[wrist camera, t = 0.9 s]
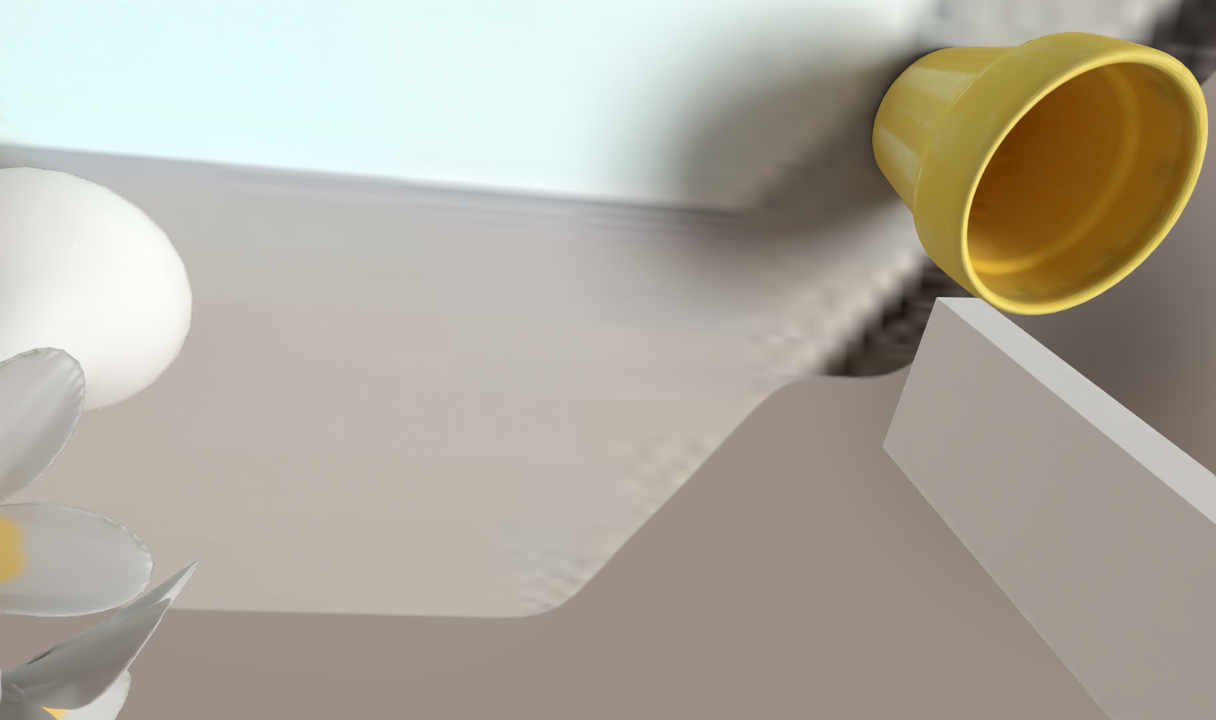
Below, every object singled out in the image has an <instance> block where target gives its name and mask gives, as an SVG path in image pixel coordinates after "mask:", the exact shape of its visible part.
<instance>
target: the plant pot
mask: <svg viewBox="0 0 1216 720" xmlns="http://www.w3.org/2000/svg"><path fill="white" fill-rule="evenodd" d="M1207 137H1208V118H1207V109H1206V103H1205V99H1204V96H1203V94H1202V91H1201V88H1200V86H1199V84H1198V82H1197V81H1196V79H1195V77H1194V76H1193V75H1192V73H1191V72H1190V71H1189V70H1188V69H1187V68H1186V67H1185V66H1184V65H1183V64H1182V63H1181V62H1180V61H1178V60H1177V59H1175V58H1174V57H1172V56H1170V55H1168V54H1166V53H1164V52H1162V51H1159V50H1157V49H1154V48H1150V47H1147V46H1143V45H1140V44H1136V43H1132V42H1128V41H1124V40H1121V39H1117V38H1112V37H1107V36H1102V35H1096V34H1090V33H1081V32H1065V33H1056V34H1051V35H1047V36H1043V37H1040V38H1037V39H1034V40H1031V41H1028V42H1026V43H1024V44H1021V45H1019V46H999V47H950V48H945V49H940V50H937V51H935V52H932V53H930V54H928V55H926V56H924V57H922V58H920V59H919V60H917V61H916V62H914V63H913V64H912V65H910V66H909V67H908V68H907V69H906V70H905V71H903V72H902V73H901V75H900V76H899V77H898V78H897V79H896V80H895V81H894V82H893V84H892V85H891V87H890V88H889V89H888V91H887V93H886V94H885V96H884V98H883V100H882V102H881V104H880V106H879V109H878V112H877V115H876V118H875V122H874V126H873V135H872V145H873V152H874V156H875V160H876V162H877V165H878V166H879V168H880V170H881V171H882V173H883V174H884V176H885V177H886V178H887V180H888V181H889V182H890V184H891V185H892V186H893V188H894V189H895V190H896V192H897V193H898V194H899V196H900V197H901V198H902V200H903V201H904V203H905V204H906V205H907V207H908V208H909V209H910V211H911V212H912V213H913V216H914V223H915V227H916V231H917V234H918V237H919V239H920V241H921V244H922V246H923V247H924V249H925V251H926V252H927V254H928V255H929V256H930V258H931V259H932V260H933V261H934V262H935V263H936V264H937V265H938V266H939V267H940V268H941V269H942V270H943V271H944V272H945V273H946V274H948V275H949V276H950V277H951V278H952V279H954V280H955V281H956V282H957V283H959V284H960V285H961V286H962V287H964V288H965V289H966V290H967V291H969V292H970V293H971V294H973V295H974V296H975V297H977V298H981V299H982V300H984V301H985V302H986V303H988V304H989V305H990V306H992V307H994V308H997V309H999V310H1002V311H1005V312H1009V313H1014V314H1023V315H1040V314H1048V313H1052V312H1058V311H1061V310H1064V309H1067V308H1070V307H1073V306H1076V305H1078V304H1081V303H1083V302H1086V301H1088V300H1090V299H1091V298H1093V297H1095V296H1097V295H1099V294H1101V293H1102V292H1104V291H1106V290H1107V289H1108V288H1110V287H1112V286H1113V285H1115V284H1116V283H1118V282H1119V281H1120V280H1122V279H1123V278H1124V277H1125V276H1127V275H1128V274H1129V273H1131V272H1132V271H1133V270H1134V269H1135V268H1136V267H1137V266H1138V265H1139V264H1141V263H1142V262H1143V261H1144V260H1145V259H1146V258H1147V257H1148V256H1149V255H1150V253H1152V251H1153V250H1154V249H1155V248H1156V247H1157V246H1158V245H1159V244H1160V242H1161V241H1162V240H1163V239H1164V238H1165V236H1166V235H1167V234H1168V232H1169V231H1170V230H1171V228H1172V227H1173V225H1174V224H1175V222H1176V221H1177V219H1178V218H1179V216H1180V214H1181V213H1182V211H1183V209H1184V207H1185V206H1186V204H1187V202H1188V200H1189V198H1190V196H1191V194H1192V192H1193V189H1194V187H1195V185H1196V182H1197V179H1198V176H1199V174H1200V171H1201V167H1202V163H1203V159H1204V155H1205V151H1206V145H1207Z"/></svg>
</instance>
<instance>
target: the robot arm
mask: <svg viewBox="0 0 1216 720" xmlns="http://www.w3.org/2000/svg"><path fill="white" fill-rule="evenodd" d="M883 448H884V449H885V451H886V452H887V453H888V454H889V455H890V457H891V458H892V459H893V460H894V461H895V463H896V464H897V465H898V466H899V467H900V469H901V470H902V471H903V472H904V473H905V474H906V476H907V477H908V478H909V479H910V480H911V481H912V483H913V484H914V485H915V486H916V488H917V489H918V490H919V491H920V492H921V494H922V495H923V496H924V497H925V498H926V500H927V501H928V502H929V503H930V504H931V506H932V507H933V508H934V509H935V510H936V511H937V513H938V514H939V515H940V516H941V517H942V519H943V520H944V521H945V522H946V523H947V525H948V526H949V527H950V528H951V529H952V531H953V532H954V533H955V534H956V535H957V537H958V538H959V539H960V540H961V541H962V543H963V544H964V545H965V546H966V547H967V549H968V550H969V551H970V552H971V553H972V554H973V556H974V557H975V558H976V559H977V560H978V562H979V563H980V564H981V565H982V566H983V568H984V569H985V570H986V571H987V572H988V574H989V575H990V576H991V577H992V578H993V580H994V581H995V582H996V583H997V584H998V585H999V587H1000V588H1001V589H1002V590H1003V591H1004V593H1005V594H1006V595H1007V596H1008V597H1009V599H1010V600H1011V601H1012V602H1013V603H1014V604H1015V606H1016V607H1017V608H1018V609H1019V611H1020V612H1021V613H1022V614H1023V615H1024V616H1025V618H1026V619H1027V620H1028V621H1029V622H1030V624H1031V625H1032V626H1033V627H1034V628H1035V630H1036V631H1037V632H1038V633H1039V634H1040V636H1041V637H1042V638H1043V639H1044V640H1045V642H1046V643H1047V644H1048V645H1049V646H1050V648H1051V649H1052V650H1053V651H1054V652H1055V654H1056V655H1057V656H1058V657H1059V658H1060V659H1061V661H1062V662H1063V663H1064V664H1065V665H1066V667H1067V668H1068V669H1069V670H1070V671H1071V673H1072V674H1073V675H1074V676H1075V677H1076V679H1077V680H1078V681H1079V682H1080V683H1081V684H1082V686H1083V687H1084V688H1085V689H1086V690H1087V692H1088V693H1089V694H1090V695H1091V696H1092V697H1093V699H1094V700H1095V701H1096V702H1097V704H1098V705H1099V706H1100V707H1101V708H1102V709H1103V711H1104V712H1105V713H1106V714H1107V715H1108V717H1109V718H1110V719H1111V720H1216V476H1215V475H1214V474H1212V473H1211V472H1210V471H1208V470H1207V469H1206V468H1204V467H1203V466H1202V465H1200V464H1199V463H1198V462H1196V461H1195V460H1194V459H1192V458H1191V457H1190V456H1189V455H1187V454H1186V453H1185V452H1183V451H1182V450H1181V449H1179V448H1178V447H1177V446H1175V445H1174V444H1173V443H1171V442H1170V441H1169V440H1167V439H1166V438H1165V437H1163V436H1162V435H1161V434H1159V433H1158V432H1157V431H1155V430H1154V429H1153V428H1152V427H1150V426H1149V425H1148V424H1146V423H1145V422H1144V421H1142V420H1141V419H1140V418H1138V417H1137V416H1136V415H1134V414H1133V413H1132V412H1130V411H1129V410H1128V409H1126V408H1125V407H1124V406H1122V405H1121V404H1120V403H1118V402H1117V401H1116V400H1114V399H1113V398H1112V397H1111V396H1109V395H1108V394H1106V393H1105V392H1104V391H1103V390H1101V389H1100V388H1099V387H1097V386H1096V385H1094V384H1093V383H1092V382H1091V381H1089V380H1088V379H1087V378H1085V377H1084V376H1083V375H1081V374H1080V373H1079V372H1077V371H1076V370H1075V369H1073V368H1072V367H1071V366H1070V365H1068V364H1067V363H1066V362H1064V361H1063V360H1062V359H1060V358H1059V357H1058V356H1056V355H1055V354H1054V353H1052V352H1051V351H1050V350H1048V349H1047V348H1046V347H1044V346H1043V345H1042V344H1040V343H1039V342H1038V341H1036V340H1035V339H1034V338H1032V337H1031V336H1030V335H1029V334H1027V333H1026V332H1025V331H1023V330H1022V329H1020V328H1019V327H1018V326H1016V325H1015V324H1014V323H1013V322H1011V321H1010V320H1009V319H1007V318H1006V317H1005V316H1003V315H1002V314H1001V313H999V312H998V311H997V310H995V309H994V308H993V307H991V306H990V305H989V304H988V303H986V302H985V301H984V300H982V299H981V298H943V297H937V298H936V301H935V304H934V307H933V309H932V312H931V315H930V318H929V320H928V323H927V326H926V329H925V331H924V334H923V337H922V340H921V342H920V345H919V348H918V351H917V353H916V356H915V359H914V362H913V364H912V368H911V370H910V373H909V376H908V379H907V381H906V384H905V387H904V389H903V392H902V395H901V398H900V400H899V403H898V406H897V409H896V411H895V414H894V417H893V420H892V422H891V425H890V428H889V431H888V433H887V436H886V439H885V442H884V445H883Z"/></svg>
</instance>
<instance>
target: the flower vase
mask: <svg viewBox="0 0 1216 720" xmlns="http://www.w3.org/2000/svg"><path fill="white" fill-rule="evenodd" d="M191 323H192V290H191V287H190V283H189V280H188V276H187V273H186V269H185V266H184V262H183V260H182V259H181V257H180V255H179V254H178V252H177V250H176V249H175V247H174V246H173V244H172V242H171V241H170V239H169V238H168V236H167V234H166V233H165V232H164V231H163V230H162V229H161V228H160V227H159V226H158V225H157V224H156V223H155V222H154V221H153V220H152V219H151V218H150V217H149V216H148V215H147V214H146V213H145V212H144V211H143V210H142V209H141V208H139V207H138V206H136V205H135V204H133V203H131V202H130V201H128V200H127V199H125V198H123V197H122V196H120V195H119V194H117V193H115V192H114V191H112V190H111V189H109V188H107V187H105V186H103V185H100V184H97V183H95V182H92V181H89V180H86V179H84V178H81V177H78V176H76V175H73V174H70V173H66V172H60V171H53V170H46V169H40V168H33V167H18V168H4V169H0V502H2V501H4V500H6V499H8V498H9V497H11V496H13V495H15V494H16V493H18V492H20V491H22V490H24V489H25V488H27V487H29V486H30V485H31V484H32V483H33V482H35V481H36V480H37V479H38V478H39V477H40V476H41V475H42V474H43V473H44V472H45V471H46V470H47V469H48V468H49V467H50V466H51V464H52V463H53V462H54V460H55V459H56V458H57V457H58V456H59V454H60V453H61V452H62V451H63V449H64V447H65V446H66V444H67V442H68V440H69V439H70V437H71V436H72V434H73V432H74V430H75V427H76V425H77V422H78V420H79V418H80V416H81V414H82V413H90V412H95V411H98V410H101V409H104V408H107V407H109V406H112V405H115V404H118V403H121V402H123V401H126V400H128V399H130V398H131V397H133V396H134V395H136V394H137V393H139V392H140V391H142V390H143V389H145V388H146V387H148V386H149V385H151V384H152V383H154V382H155V381H156V380H157V379H159V378H160V377H161V376H162V374H163V373H164V372H165V371H166V369H167V368H168V367H169V366H170V365H171V363H172V362H173V361H174V360H175V358H176V357H177V356H178V355H179V353H180V352H181V350H182V347H183V345H184V342H185V339H186V337H187V334H188V332H189V329H190V326H191ZM198 563H199V561H196V562H194V563H192V564H191V565H189V566H188V567H186V568H185V569H183V570H182V571H180V572H179V573H177V574H176V575H175V576H173V577H172V578H170V579H169V580H167V581H166V582H165V583H163V584H162V585H160V586H159V587H157V588H156V589H154V590H153V591H151V592H150V593H148V594H147V595H145V596H144V597H142V598H141V599H139V600H138V601H136V602H134V603H133V604H131V605H130V606H128V607H126V608H125V609H123V610H122V611H120V612H118V613H116V614H115V615H113V616H112V617H110V618H108V619H106V620H105V621H103V622H101V623H99V624H98V625H96V626H94V627H92V628H90V629H88V630H86V631H84V632H82V633H80V634H78V635H76V636H74V637H72V638H70V639H68V640H66V641H64V642H62V643H59V644H57V645H55V646H53V647H51V648H49V649H48V650H46V651H44V652H42V653H40V654H38V655H36V656H35V657H34V658H33V659H31V660H30V661H28V662H26V663H24V664H21V665H19V666H16V667H14V668H11V669H9V670H6V671H2V672H1V668H0V720H115V718H116V716H117V714H118V712H119V710H120V709H121V707H122V706H123V704H124V701H125V699H126V698H127V693H128V692H129V687H130V681H131V678H130V674H129V673H128V672H127V669H128V667H129V665H130V664H131V662H132V661H133V660H134V659H135V657H137V655H138V653H139V652H140V650H141V649H142V647H143V646H144V645H145V644H146V642H147V640H148V638H149V637H150V635H151V634H152V633H153V632H154V631H155V628H156V626H157V625H158V624H159V623H160V621H161V620H162V616H163V614H164V612H165V611H166V609H167V608H168V607H169V606H170V605H171V603H172V602H173V600H174V599H175V597H176V596H177V595H178V594H179V593H180V591H181V589H182V587H183V586H184V585H185V584H186V583H187V580H188V579H189V578H190V576H191V575H192V573H193V571H194V570H195V569H196V565H197V564H198ZM153 565H154V562H153V560H152V557H151V553H150V551H149V550H148V549H147V547H146V545H145V543H144V542H143V541H141V540H140V539H139V538H138V537H137V536H136V535H135V534H134V533H133V532H132V531H130V530H128V529H127V528H125V527H124V526H123V525H121V524H120V523H117V522H115V521H113V520H111V519H109V518H107V517H105V516H102V515H99V514H95V513H92V512H90V511H87V510H84V509H78V508H73V507H68V506H64V505H54V504H44V503H23V504H5V505H0V613H3V614H17V615H25V616H33V617H36V616H37V617H38V616H46V617H64V616H82V615H86V614H92V613H100V612H102V611H105V610H108V609H112V608H116V607H118V606H120V605H122V604H124V603H126V602H128V601H131V600H132V599H133V598H135V597H136V596H137V595H139V594H140V593H142V592H143V590H144V589H145V587H146V586H147V585H148V584H149V583H150V578H151V573H152V569H153Z"/></svg>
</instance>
